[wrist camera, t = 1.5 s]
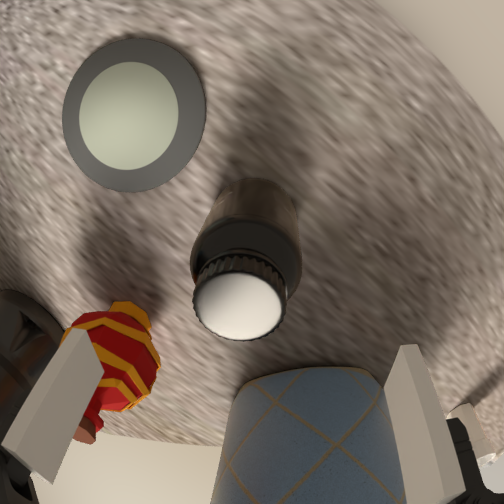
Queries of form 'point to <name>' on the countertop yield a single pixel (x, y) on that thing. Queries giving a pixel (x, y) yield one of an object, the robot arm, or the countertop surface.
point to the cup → (474, 433)
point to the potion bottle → (117, 362)
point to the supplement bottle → (246, 261)
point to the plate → (134, 115)
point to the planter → (310, 441)
